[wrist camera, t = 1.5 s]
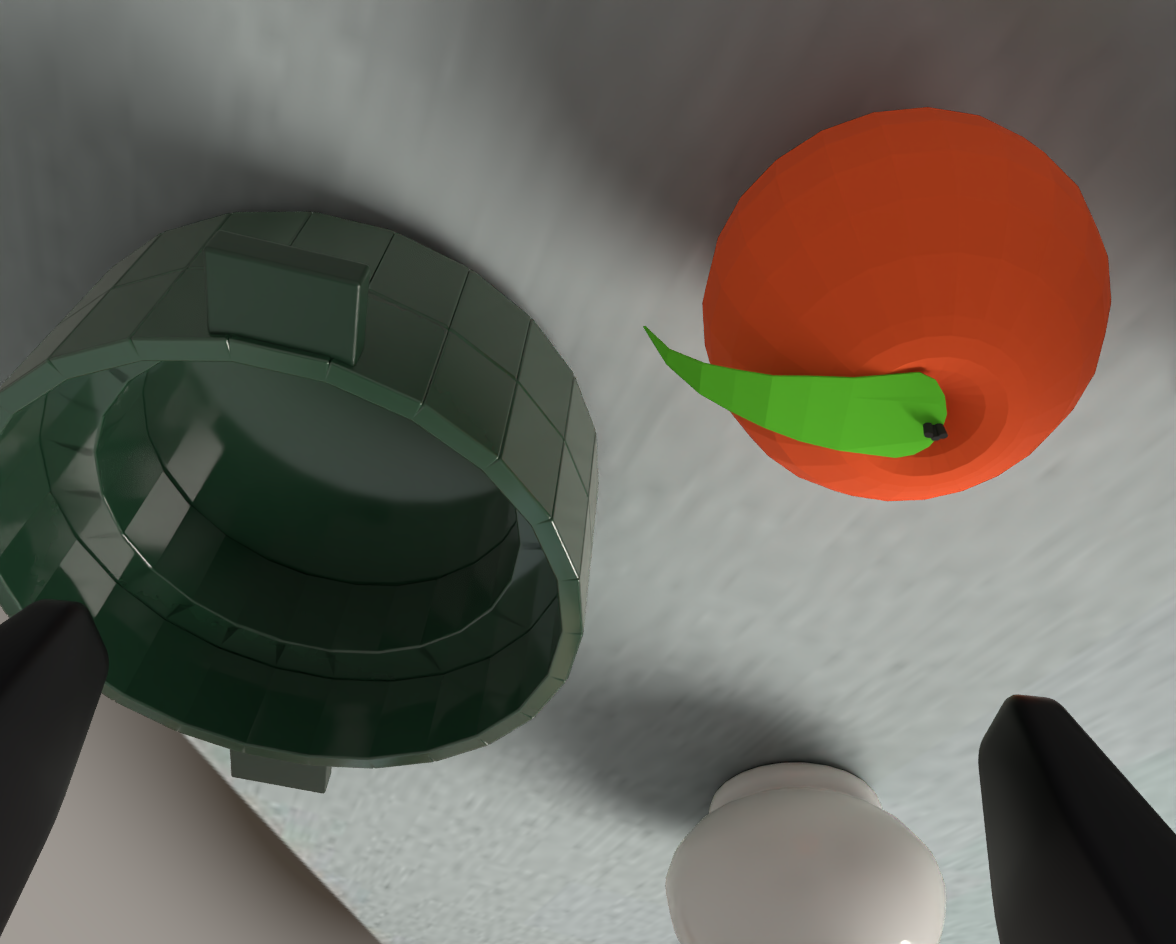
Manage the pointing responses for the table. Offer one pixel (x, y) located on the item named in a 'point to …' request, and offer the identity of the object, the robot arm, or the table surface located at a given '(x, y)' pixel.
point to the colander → (307, 504)
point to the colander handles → (296, 320)
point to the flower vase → (803, 866)
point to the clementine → (903, 305)
